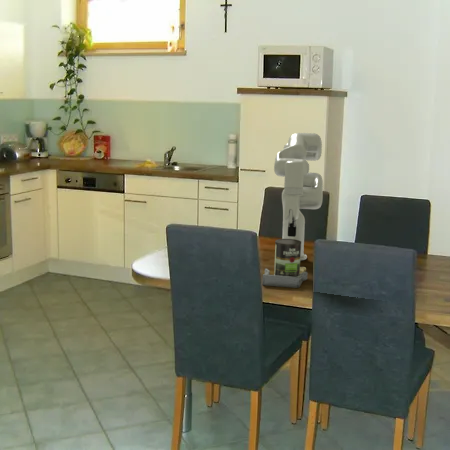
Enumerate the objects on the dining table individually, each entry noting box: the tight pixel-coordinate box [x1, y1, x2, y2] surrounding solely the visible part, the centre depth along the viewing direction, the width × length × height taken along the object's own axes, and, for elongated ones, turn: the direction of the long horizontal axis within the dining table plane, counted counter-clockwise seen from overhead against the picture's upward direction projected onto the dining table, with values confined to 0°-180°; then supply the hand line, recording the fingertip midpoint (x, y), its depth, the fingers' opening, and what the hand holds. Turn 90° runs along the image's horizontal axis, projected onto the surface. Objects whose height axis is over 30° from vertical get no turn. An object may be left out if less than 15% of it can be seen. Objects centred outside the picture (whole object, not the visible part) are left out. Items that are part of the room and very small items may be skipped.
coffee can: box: [273, 238, 301, 277], centre depth 273 cm, size 10×10×14 cm
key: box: [300, 266, 307, 273], centre depth 280 cm, size 7×3×1 cm, turn 166°
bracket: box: [261, 268, 308, 289], centre depth 265 cm, size 13×17×4 cm
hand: (291, 236), depth 281 cm, fingers closed
